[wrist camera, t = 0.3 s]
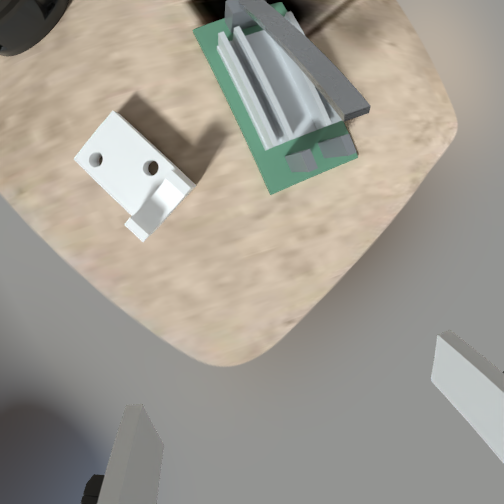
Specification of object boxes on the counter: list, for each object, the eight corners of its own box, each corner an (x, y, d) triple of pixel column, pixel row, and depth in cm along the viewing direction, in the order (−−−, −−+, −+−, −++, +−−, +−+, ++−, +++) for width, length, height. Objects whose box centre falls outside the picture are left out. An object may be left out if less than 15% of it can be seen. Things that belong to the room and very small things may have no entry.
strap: (239, 6, 25) (238, 1, 24) (259, 1, 25) (258, -5, 24) (343, 121, 20) (344, 114, 19) (368, 112, 20) (370, 105, 19)
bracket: (197, 185, 36) (191, 188, 29) (157, 228, 37) (143, 242, 30) (122, 115, 33) (100, 103, 26) (85, 159, 34) (57, 158, 27)
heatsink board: (192, 31, 31) (187, 0, 23) (280, 3, 31) (293, -29, 23) (270, 194, 37) (283, 200, 29) (356, 157, 37) (388, 155, 29)
